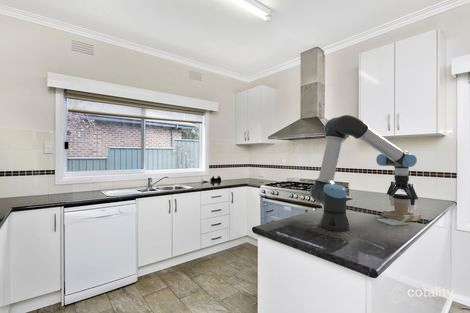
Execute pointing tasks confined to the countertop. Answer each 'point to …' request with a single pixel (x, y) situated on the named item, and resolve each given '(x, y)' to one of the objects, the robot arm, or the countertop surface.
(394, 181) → the robot arm
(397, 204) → the coffee cup
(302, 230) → the countertop surface
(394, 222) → the coaster
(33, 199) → the countertop surface
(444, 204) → the countertop surface
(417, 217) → the holder
